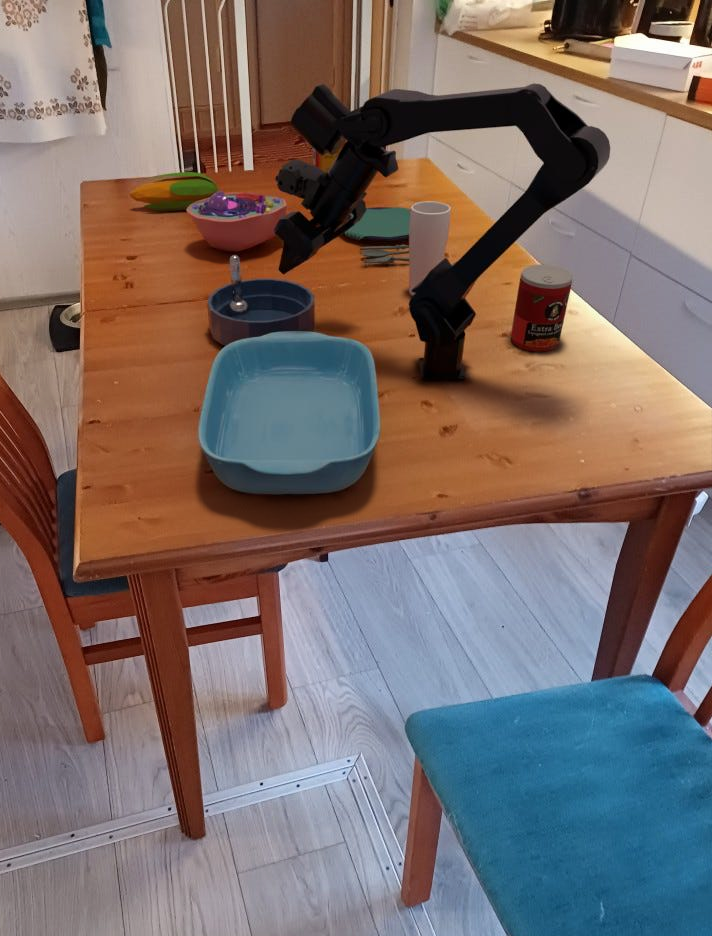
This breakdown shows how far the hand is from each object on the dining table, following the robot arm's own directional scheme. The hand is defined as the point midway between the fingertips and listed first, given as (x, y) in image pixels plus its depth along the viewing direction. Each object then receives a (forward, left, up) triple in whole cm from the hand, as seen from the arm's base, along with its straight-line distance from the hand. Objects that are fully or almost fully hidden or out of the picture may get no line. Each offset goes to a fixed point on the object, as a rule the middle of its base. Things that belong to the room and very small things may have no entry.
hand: (295, 261), depth 119 cm
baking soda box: (+72, -5, -13) cm, 73 cm away
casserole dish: (-30, 0, -13) cm, 32 cm away
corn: (+66, +30, -13) cm, 74 cm away
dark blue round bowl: (+2, +6, -12) cm, 14 cm away
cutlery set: (+45, -17, -13) cm, 50 cm away
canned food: (-2, -38, -13) cm, 40 cm away
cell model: (+41, +13, -13) cm, 45 cm away
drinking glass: (+17, -22, -13) cm, 31 cm away
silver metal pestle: (+3, +10, -11) cm, 15 cm away
